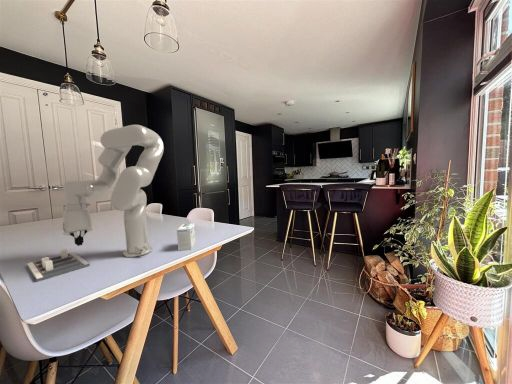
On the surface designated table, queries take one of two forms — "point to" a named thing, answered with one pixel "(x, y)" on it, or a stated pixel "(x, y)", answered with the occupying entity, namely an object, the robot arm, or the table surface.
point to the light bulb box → (186, 236)
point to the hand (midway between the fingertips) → (79, 244)
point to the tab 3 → (64, 253)
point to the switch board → (57, 266)
